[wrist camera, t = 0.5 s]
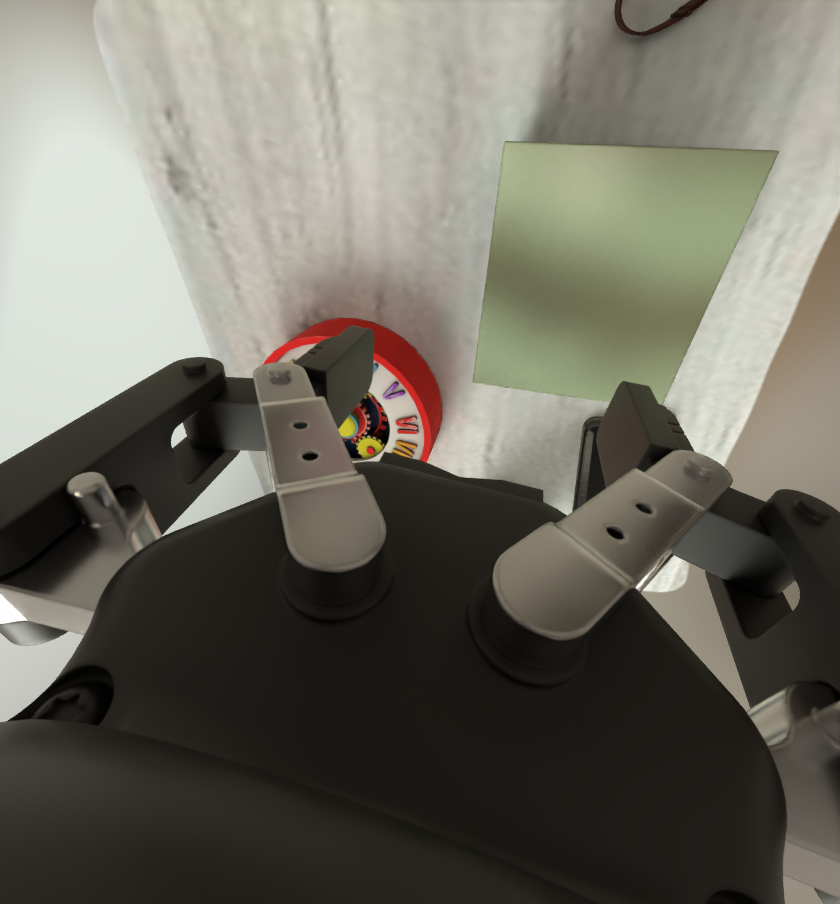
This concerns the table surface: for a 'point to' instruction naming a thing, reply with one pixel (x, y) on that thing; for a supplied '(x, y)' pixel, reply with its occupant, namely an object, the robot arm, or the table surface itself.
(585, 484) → the phone
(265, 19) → the table surface
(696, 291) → the small side table
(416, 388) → the toy clock
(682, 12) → the watch
